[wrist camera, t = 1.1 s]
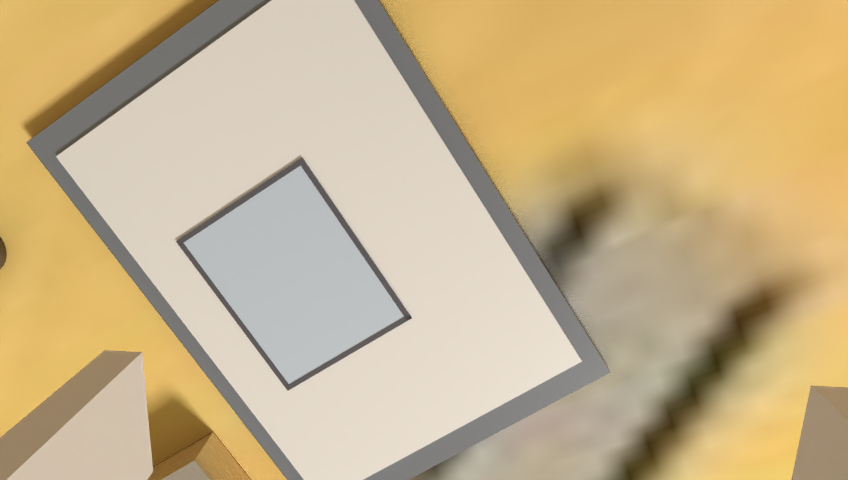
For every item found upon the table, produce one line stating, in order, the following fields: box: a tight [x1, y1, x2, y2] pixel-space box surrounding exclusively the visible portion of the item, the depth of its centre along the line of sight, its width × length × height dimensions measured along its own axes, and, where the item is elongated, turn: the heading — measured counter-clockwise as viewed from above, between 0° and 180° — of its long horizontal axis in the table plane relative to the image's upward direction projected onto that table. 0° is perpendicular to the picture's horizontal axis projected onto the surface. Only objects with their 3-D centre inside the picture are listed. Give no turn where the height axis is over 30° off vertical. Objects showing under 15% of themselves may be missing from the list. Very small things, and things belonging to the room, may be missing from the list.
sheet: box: [26, 0, 610, 480], centre depth 37 cm, size 28×20×1 cm
